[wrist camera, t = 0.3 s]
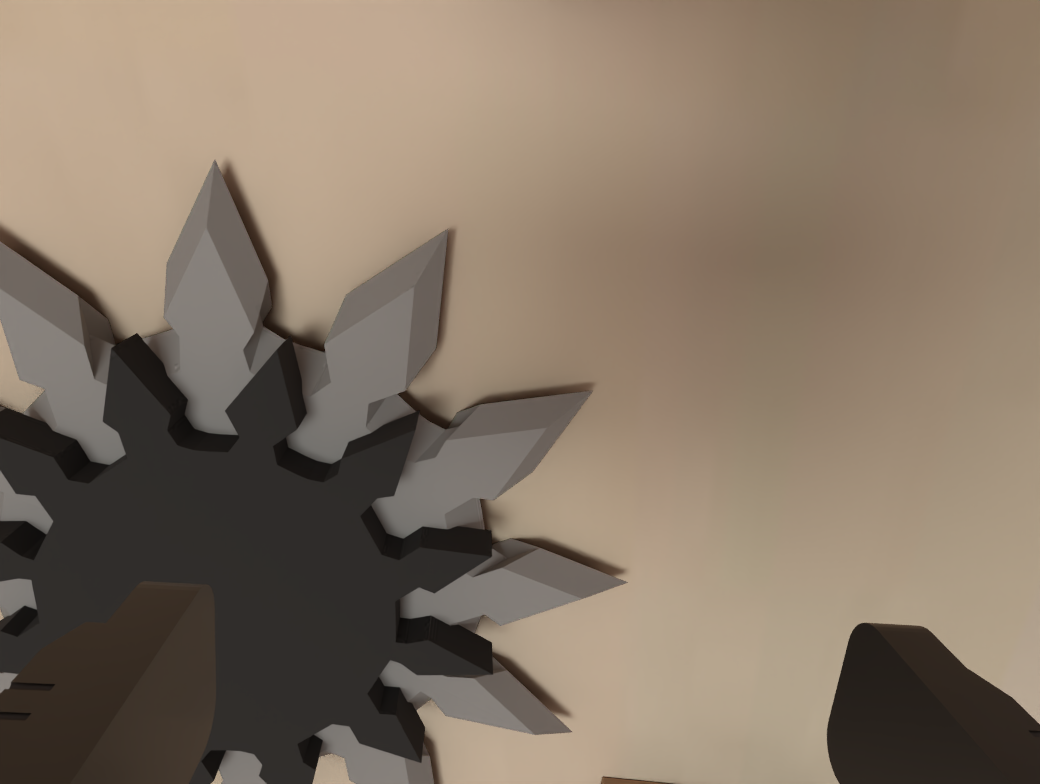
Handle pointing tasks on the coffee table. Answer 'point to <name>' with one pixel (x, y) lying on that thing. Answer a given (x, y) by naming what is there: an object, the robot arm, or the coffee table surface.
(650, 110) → the coffee table surface
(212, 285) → the decorative piece
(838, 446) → the coffee table surface
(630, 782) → the rack
